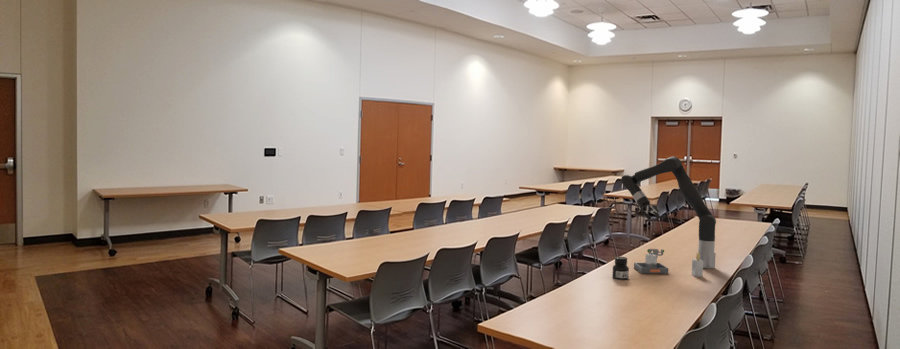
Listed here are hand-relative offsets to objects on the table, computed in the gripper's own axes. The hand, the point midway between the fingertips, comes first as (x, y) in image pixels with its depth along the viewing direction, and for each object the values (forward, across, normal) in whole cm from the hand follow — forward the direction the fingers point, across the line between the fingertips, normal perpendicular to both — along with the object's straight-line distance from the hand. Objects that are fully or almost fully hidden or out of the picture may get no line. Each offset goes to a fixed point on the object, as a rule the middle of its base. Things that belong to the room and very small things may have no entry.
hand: (654, 218), depth 367 cm
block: (+30, -20, +9) cm, 37 cm away
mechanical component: (+24, -4, +17) cm, 29 cm away
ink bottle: (+34, -50, +7) cm, 60 cm away
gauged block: (+46, -4, -5) cm, 46 cm away
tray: (+31, -20, +10) cm, 38 cm away
